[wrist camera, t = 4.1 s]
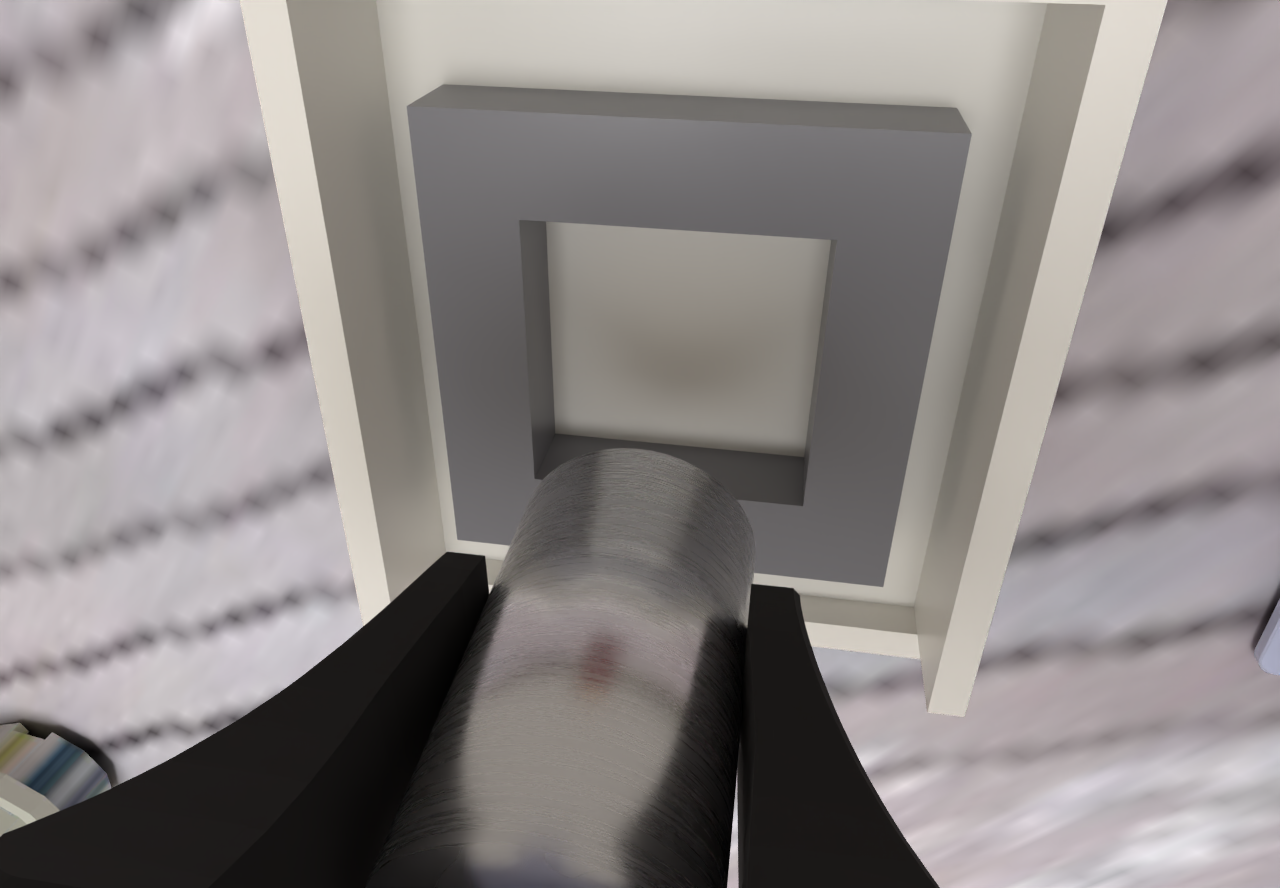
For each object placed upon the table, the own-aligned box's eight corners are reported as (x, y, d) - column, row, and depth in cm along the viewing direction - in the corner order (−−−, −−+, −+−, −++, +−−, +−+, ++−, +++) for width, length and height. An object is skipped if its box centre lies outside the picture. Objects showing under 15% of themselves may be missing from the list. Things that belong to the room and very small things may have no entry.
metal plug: (760, 456, 15) (722, 876, 9) (750, 640, 17) (714, 1070, 11) (512, 440, 15) (324, 822, 9) (534, 620, 17) (392, 1017, 12)
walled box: (1107, -76, 16) (1183, -58, 13) (938, 621, 24) (957, 741, 21) (335, -92, 18) (223, -81, 14) (427, 562, 26) (370, 665, 23)
